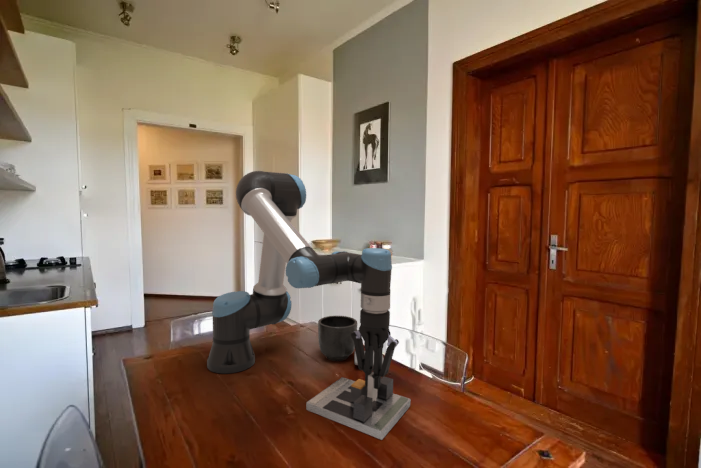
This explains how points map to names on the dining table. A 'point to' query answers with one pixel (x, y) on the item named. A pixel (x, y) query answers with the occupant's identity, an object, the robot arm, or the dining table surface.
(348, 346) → the planter
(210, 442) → the dining table surface
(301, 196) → the robot arm
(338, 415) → the panel
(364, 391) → the block
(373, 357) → the light switch
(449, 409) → the dining table surface
